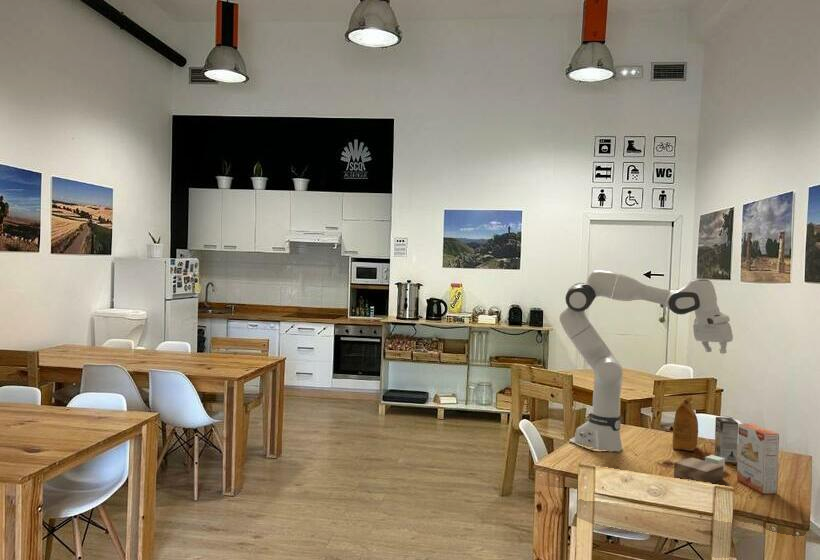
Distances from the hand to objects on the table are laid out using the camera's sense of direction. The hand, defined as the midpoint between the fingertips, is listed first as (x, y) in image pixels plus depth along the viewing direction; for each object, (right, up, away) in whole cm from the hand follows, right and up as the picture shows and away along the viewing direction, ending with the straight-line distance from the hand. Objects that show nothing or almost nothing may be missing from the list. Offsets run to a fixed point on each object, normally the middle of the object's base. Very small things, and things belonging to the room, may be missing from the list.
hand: (716, 352), depth 238 cm
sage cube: (-5, -44, -9) cm, 45 cm away
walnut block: (-16, -44, -19) cm, 50 cm away
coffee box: (+7, -44, +6) cm, 45 cm away
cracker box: (0, -44, -27) cm, 52 cm away
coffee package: (-3, -44, +20) cm, 48 cm away
